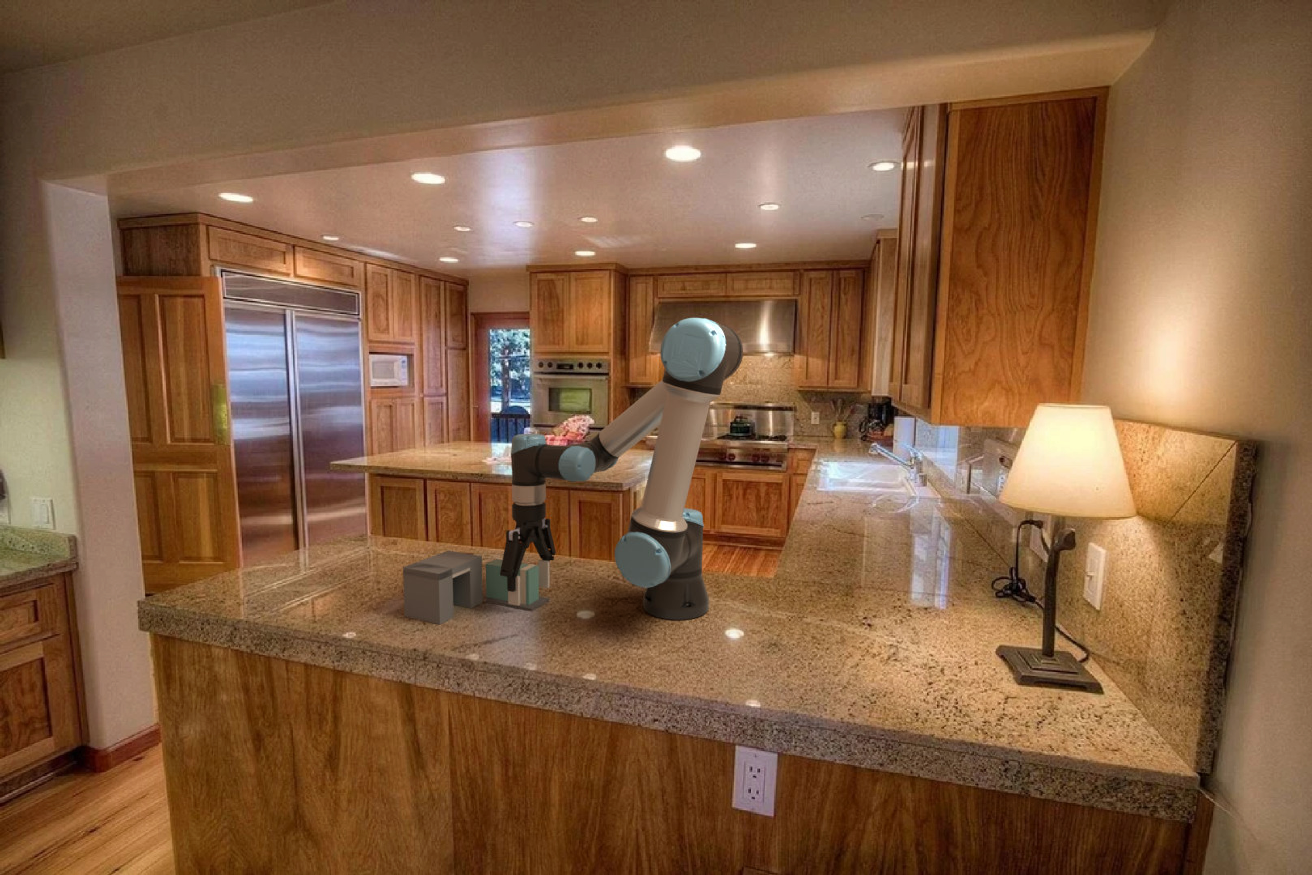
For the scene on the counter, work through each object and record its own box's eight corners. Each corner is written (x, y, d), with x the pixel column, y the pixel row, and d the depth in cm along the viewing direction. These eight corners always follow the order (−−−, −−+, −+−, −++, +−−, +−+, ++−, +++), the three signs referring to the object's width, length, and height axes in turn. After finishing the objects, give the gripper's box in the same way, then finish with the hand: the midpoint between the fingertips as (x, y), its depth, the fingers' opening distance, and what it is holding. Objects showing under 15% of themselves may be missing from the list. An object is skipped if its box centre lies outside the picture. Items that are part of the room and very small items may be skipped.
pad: (549, 600, 134) (549, 598, 134) (531, 611, 128) (531, 608, 128) (504, 591, 139) (504, 589, 139) (485, 601, 133) (485, 599, 133)
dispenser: (482, 601, 133) (481, 555, 132) (440, 624, 121) (438, 573, 119) (449, 595, 137) (448, 550, 136) (404, 616, 124) (403, 567, 123)
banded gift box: (538, 598, 134) (538, 565, 133) (528, 605, 130) (528, 570, 129) (497, 591, 138) (496, 558, 137) (485, 596, 134) (485, 563, 134)
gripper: (544, 491, 142) (544, 577, 144) (481, 510, 121) (483, 610, 123) (570, 494, 139) (570, 581, 141) (510, 514, 118) (511, 616, 120)
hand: (529, 595), depth 132 cm, fingers open, 11 cm apart
